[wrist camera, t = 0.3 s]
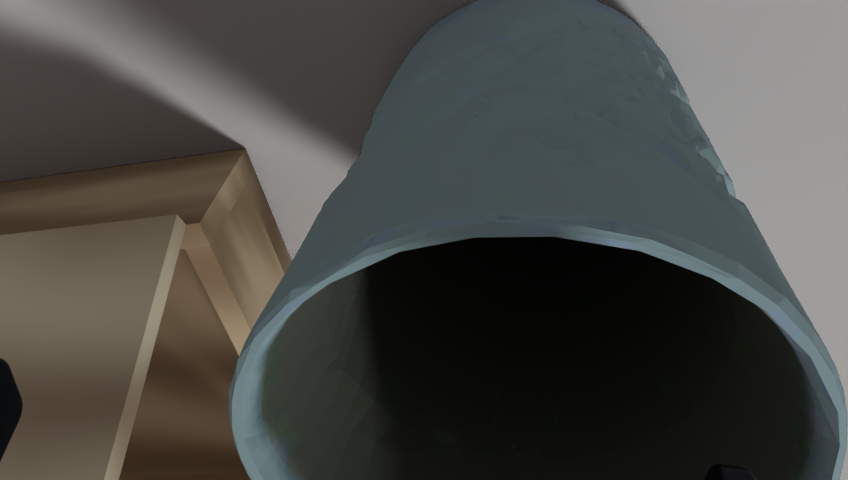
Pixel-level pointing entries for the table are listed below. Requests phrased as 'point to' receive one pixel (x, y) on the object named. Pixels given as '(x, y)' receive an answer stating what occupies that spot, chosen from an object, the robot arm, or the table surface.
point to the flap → (81, 340)
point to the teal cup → (535, 282)
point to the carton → (179, 293)
